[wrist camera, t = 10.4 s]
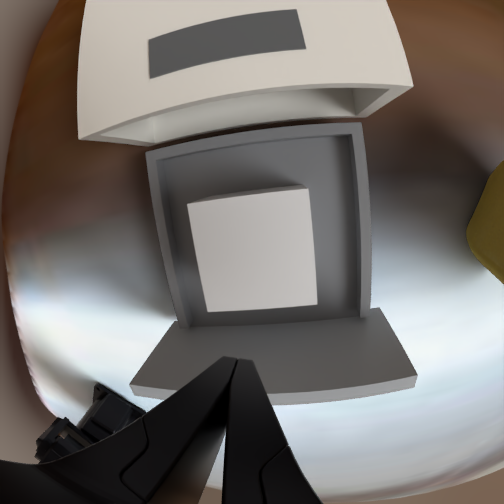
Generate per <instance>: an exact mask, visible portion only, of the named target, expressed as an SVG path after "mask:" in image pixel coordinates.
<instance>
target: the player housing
mask: <svg viewBox="0 0 504 504" xmlns="http://www.w3.org/2000/svg"><path fill="white" fill-rule="evenodd" d="M412 87H413V82H412V78H411V74H410V70H409V66H408V63H407V59H406V56H405V52H404V49H403V46H402V43H401V40H400V37H399V34H398V31H397V28H396V25H395V22H394V20H393V17H392V14H391V12H390V9H389V7H388V5H387V2H386V0H86V5H85V11H84V17H83V24H82V31H81V39H80V49H79V62H78V82H77V117H78V139H79V140H91V141H103V142H113V143H122V144H131V145H139V146H147V147H149V146H153V145H157V144H161V143H165V142H169V141H173V140H177V139H182V138H186V137H191V136H196V135H200V134H205V133H211V132H216V131H222V130H227V129H233V128H240V127H246V126H253V125H261V124H269V123H277V122H287V121H298V120H311V119H327V118H364V117H368V116H369V115H371V114H372V113H374V112H375V111H377V110H378V109H380V108H381V107H383V106H384V105H386V104H387V103H389V102H390V101H392V100H393V99H395V98H396V97H398V96H399V95H401V94H402V93H404V92H406V91H407V90H409V89H410V88H412Z"/></svg>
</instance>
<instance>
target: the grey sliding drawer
mask: <svg viewBox="0 0 504 504" xmlns="http://www.w3.org/2000/svg"><path fill="white" fill-rule="evenodd" d="M145 154H146V162H147V170H148V177H149V184H150V191H151V197H152V204H153V210H154V216H155V221H156V227H157V232H158V237H159V243H160V248H161V252H162V257H163V262H164V267H165V271H166V276H167V280H168V284H169V288H170V293H171V297H172V301H173V305H174V309H175V313H176V316H177V320H178V321H174V323H173V324H172V325H171V327H170V328H169V329H168V331H167V332H166V334H165V335H164V336H163V338H162V339H161V340H160V342H159V343H158V345H157V346H156V347H155V349H154V350H153V352H152V353H151V354H150V356H149V357H148V358H147V360H146V361H145V363H144V364H143V365H142V367H141V368H140V370H139V371H138V373H137V374H136V375H135V377H134V378H133V380H132V381H131V382H130V384H129V385H130V387H131V389H132V391H133V393H134V395H136V396H142V397H148V398H155V399H162V400H165V399H167V398H168V397H170V396H171V395H172V394H174V393H175V392H176V391H178V390H179V389H180V388H182V387H183V386H184V385H186V384H187V383H188V382H190V381H191V380H192V379H194V378H195V377H196V376H198V375H199V374H200V373H202V372H203V371H204V370H206V369H207V368H208V367H209V366H211V365H212V364H213V363H214V362H216V361H217V360H218V359H220V358H221V357H222V356H230V357H236V358H237V359H239V358H244V359H251V360H253V361H254V364H255V366H256V369H257V371H258V374H259V376H260V378H261V381H262V383H263V386H264V388H265V391H266V393H267V395H268V398H269V400H270V402H271V405H294V404H309V403H321V402H331V401H340V400H348V399H355V398H362V397H368V396H374V395H380V394H385V393H390V392H395V391H400V390H404V389H409V388H413V387H414V386H415V383H416V379H417V376H418V375H417V373H416V371H415V369H414V367H413V365H412V363H411V361H410V360H409V358H408V356H407V354H406V352H405V350H404V349H403V347H402V345H401V343H400V342H399V340H398V338H397V336H396V335H395V333H394V331H393V329H392V328H391V326H390V324H389V323H388V321H387V319H386V317H385V316H384V314H383V313H382V311H381V309H380V308H372V309H370V302H371V271H372V243H371V212H370V196H369V182H368V171H367V162H366V153H365V145H364V137H363V130H362V123H361V122H357V123H328V124H311V125H299V126H288V127H278V128H269V129H261V130H254V131H247V132H240V133H234V134H227V135H222V136H216V137H211V138H205V139H200V140H195V141H190V142H186V143H181V144H177V145H172V146H168V147H164V148H160V149H156V150H152V151H148V152H145ZM294 185H304V186H305V187H307V188H308V190H309V199H310V208H311V219H312V230H313V242H314V255H315V269H316V286H317V305H307V306H295V307H283V308H270V309H255V310H238V311H218V312H208V311H207V306H206V302H205V297H204V292H203V287H202V283H201V278H200V273H199V268H198V263H197V257H196V252H195V247H194V241H193V236H192V230H191V224H190V219H189V213H188V207H187V204H188V203H191V202H194V201H197V200H200V199H204V198H207V197H210V196H214V195H221V194H228V193H235V192H242V191H250V190H258V189H266V188H275V187H284V186H294Z"/></svg>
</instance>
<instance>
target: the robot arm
mask: <svg viewBox="0 0 504 504" xmlns="http://www.w3.org/2000/svg"><path fill="white" fill-rule="evenodd" d="M225 432H226V437H225V453H224V469H223V486H222V504H323V503H322V501H321V500H320V498H319V497H318V496H317V494H316V493H315V491H314V490H313V488H312V487H311V485H310V484H309V482H308V481H307V479H306V477H305V476H304V474H303V472H302V471H301V469H300V467H299V465H298V463H297V461H296V459H295V457H294V455H293V452H292V450H291V448H290V446H288V442H287V439H286V437H285V435H284V433H283V430H282V428H281V426H280V424H279V421H278V419H277V417H276V414H275V412H274V410H273V407H272V405H271V402H270V400H269V398H268V395H267V393H266V391H265V388H264V386H263V383H262V381H261V378H260V376H259V374H258V371H257V369H256V366H255V364H254V361H253V360H251V359H244V358H239V359H237V358H236V357H230V356H222V357H221V358H220V359H218V360H217V361H216V362H214V363H213V364H212V365H211V366H209V367H208V368H207V369H206V370H204V371H203V372H202V373H200V374H199V375H198V376H196V377H195V378H194V379H192V380H191V381H190V382H188V383H187V384H186V385H184V386H183V387H182V388H180V389H179V390H178V391H176V392H175V393H174V394H172V395H171V396H170V397H168V398H167V399H165V400H164V401H163V402H161V403H160V404H158V405H157V406H156V407H154V408H153V409H151V410H150V411H148V412H147V413H146V412H144V411H142V410H141V409H139V408H137V407H135V406H134V405H132V404H130V403H129V402H127V401H125V400H124V399H122V398H120V397H119V396H117V395H116V394H114V393H112V392H111V391H109V390H108V389H106V388H105V387H103V386H102V385H100V384H96V385H95V387H94V396H93V404H92V406H91V407H90V408H89V410H88V411H87V412H86V413H85V415H84V416H83V417H82V419H81V420H80V421H79V423H78V424H77V425H76V426H75V425H74V424H72V423H71V422H70V421H69V419H68V418H67V417H65V418H64V419H61V418H59V417H57V419H56V420H55V421H54V422H53V423H52V425H51V426H50V427H49V428H48V429H47V430H46V431H45V432H44V433H43V434H42V435H41V436H40V437H39V438H38V439H37V440H36V444H37V450H36V451H37V453H36V455H35V458H36V459H38V460H39V461H40V462H39V463H38V464H25V463H18V462H10V461H5V460H0V504H198V503H199V500H200V498H201V495H202V493H203V490H204V488H205V485H206V483H207V480H208V478H209V475H210V473H211V470H212V467H213V465H214V462H215V459H216V457H217V454H218V452H219V449H220V446H221V443H222V441H223V438H224V435H225ZM60 435H62V436H63V437H64V438H65V439H63V438H62V437H60Z"/></svg>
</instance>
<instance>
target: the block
mask: <svg viewBox="0 0 504 504" xmlns="http://www.w3.org/2000/svg"><path fill="white" fill-rule="evenodd" d="M187 207H188V213H189V219H190V224H191V230H192V236H193V241H194V247H195V252H196V257H197V263H198V268H199V273H200V278H201V283H202V287H203V292H204V297H205V302H206V306H207V311H208V312H218V311H238V310H255V309H270V308H283V307H295V306H307V305H317V286H316V269H315V255H314V242H313V230H312V219H311V208H310V199H309V190H308V188H307V187H305V186H304V185H294V186H284V187H275V188H266V189H258V190H250V191H242V192H235V193H228V194H221V195H214V196H210V197H207V198H204V199H200V200H197V201H194V202H191V203H188V204H187Z"/></svg>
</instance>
